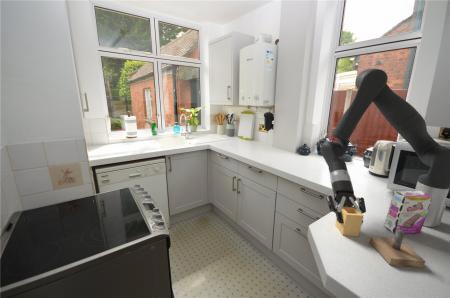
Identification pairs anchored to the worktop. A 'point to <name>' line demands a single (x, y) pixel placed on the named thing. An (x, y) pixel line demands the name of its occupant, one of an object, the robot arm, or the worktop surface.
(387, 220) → the candy bar box
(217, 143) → the worktop surface
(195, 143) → the worktop surface
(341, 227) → the sleeve
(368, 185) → the worktop surface
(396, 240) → the post stand
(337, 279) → the worktop surface
